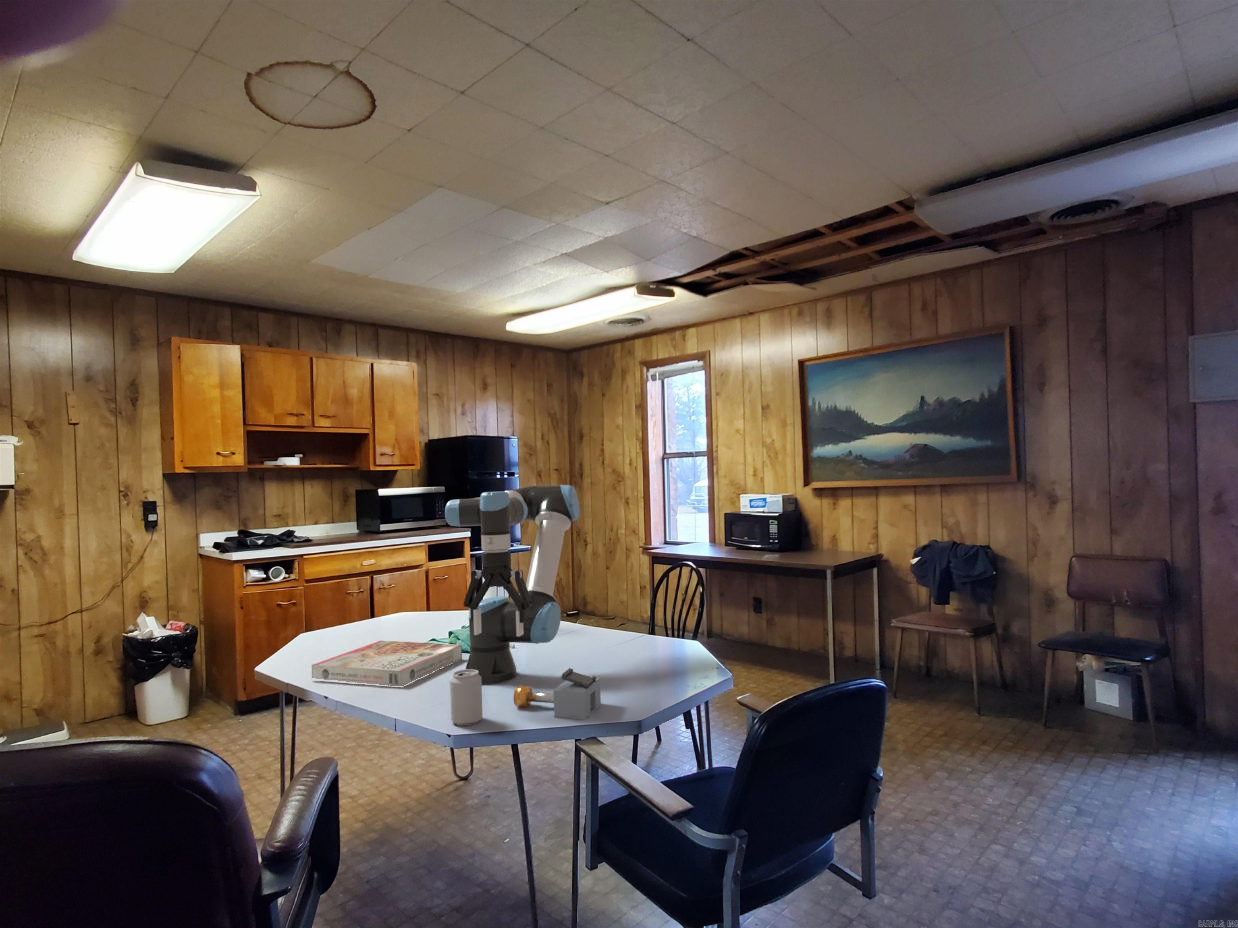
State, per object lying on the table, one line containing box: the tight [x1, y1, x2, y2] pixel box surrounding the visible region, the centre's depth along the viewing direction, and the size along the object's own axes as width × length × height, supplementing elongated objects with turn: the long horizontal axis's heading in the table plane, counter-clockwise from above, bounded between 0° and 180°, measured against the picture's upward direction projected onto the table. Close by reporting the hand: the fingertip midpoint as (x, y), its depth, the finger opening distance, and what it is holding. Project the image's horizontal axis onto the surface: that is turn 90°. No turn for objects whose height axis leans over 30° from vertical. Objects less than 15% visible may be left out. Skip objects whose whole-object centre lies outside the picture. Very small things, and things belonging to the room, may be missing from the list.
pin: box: [513, 685, 554, 708], centre depth 178 cm, size 13×5×5 cm, turn 73°
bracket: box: [553, 677, 602, 720], centre depth 175 cm, size 8×12×6 cm, turn 163°
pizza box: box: [311, 640, 463, 686], centre depth 220 cm, size 32×5×32 cm
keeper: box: [560, 667, 597, 688], centre depth 175 cm, size 7×7×1 cm
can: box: [449, 668, 483, 726], centre depth 170 cm, size 8×8×12 cm
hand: (498, 634), depth 182 cm, fingers open, 11 cm apart
